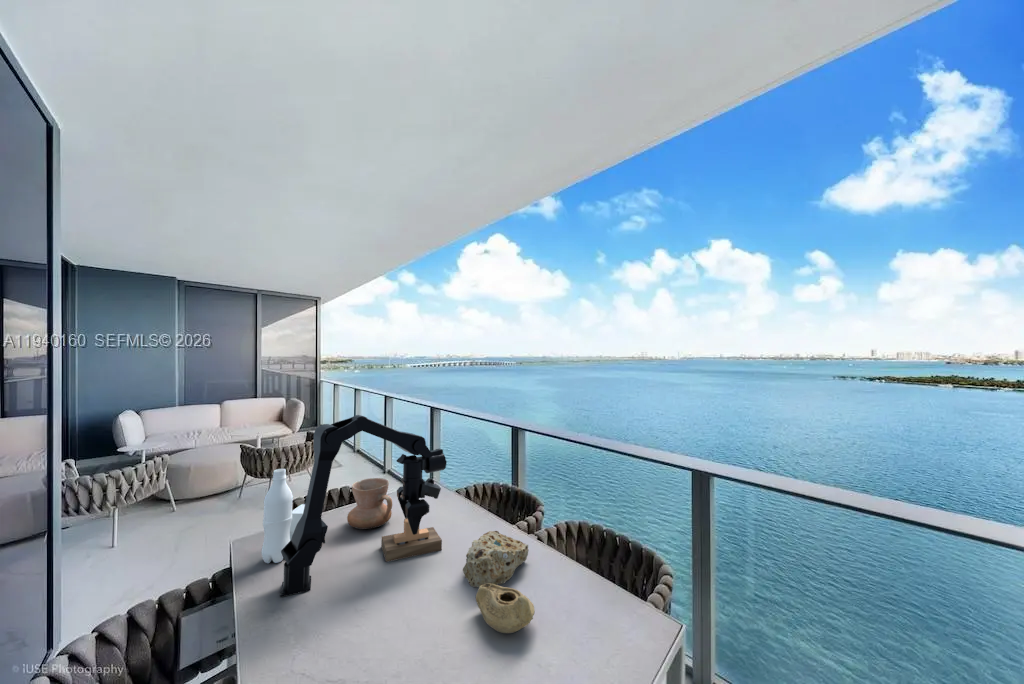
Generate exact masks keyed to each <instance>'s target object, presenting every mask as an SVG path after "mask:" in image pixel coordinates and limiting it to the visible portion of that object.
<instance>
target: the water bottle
mask: <svg viewBox="0 0 1024 684" xmlns="http://www.w3.org/2000/svg"><path fill="white" fill-rule="evenodd" d="M286 472H287V471H286V468H276V469H274V470H273V476H272V478H271V479H272V484H271V485H270V487H269V489H268V491H267V493H266V494H265V497H264V499H263V519H262V527H263V531H264V532H263V535H264V537H263V544H262V546H261V558H262V560H263V562H264V563H265V564H270V563H271V562H273V563H274V564H278V563H281V562H282V561H283V560H284V558H283V556H282V554H281V550H282V549H283V548H284V547H285V546H286V545H287V544H288V543H289V542H290V525H291V521H292V510H293V498H294V497H293V492H292V490H291V488H290V486H289V484H288V483H287V480H286V479H287V478H288V477H287V474H286Z"/></svg>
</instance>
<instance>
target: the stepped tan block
mask: <svg viewBox="0 0 1024 684" xmlns="http://www.w3.org/2000/svg"><path fill="white" fill-rule="evenodd" d="M427 528H428V527H426V528H425V527H424V528H420V527H419V528H418V531H417V534H415V535H413V533H412V530H411V528H410V525H409V522H408V519H405V518H404V520H403V532H398V533H393V534H394V542H395V544H396V543H398V545H401V544H405V542H406V541H411V540H417V539H418V541H421V540H425V538H427V537H429V531H428V530H427Z"/></svg>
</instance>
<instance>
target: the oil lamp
mask: <svg viewBox="0 0 1024 684" xmlns="http://www.w3.org/2000/svg"><path fill="white" fill-rule="evenodd" d="M475 602H476V604H477V607H478V608H479V610H480V613H481V616H482V617H483V620H484V622H485V623H486V624H487V625H488V626H489V627H491V628H492V629H493V630H494V631H497V632H498V633H499V634H500V633H501V634H512V633H516V632H518V631H519V630H522V629H523V628H525V627H526V626H528V625H529V624H530V623H531V622H532V620H533V619H534V615H535V611H536V610H535V605H534V603H533V602H532V601H531V600H530V599H529V598H528V597H527V596H526V595H524V594H523V593H522V592H521V591H520V590H518V589H516V588H512V587H506V586H505V587H504V586H501V585H499V584H498V585H495V584H491V583H488V584H483V585H481V586H480V587H478V590H477V592H476V595H475Z"/></svg>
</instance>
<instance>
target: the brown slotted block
mask: <svg viewBox="0 0 1024 684" xmlns="http://www.w3.org/2000/svg"><path fill="white" fill-rule="evenodd" d="M426 528H427V530H428V531H429V537H427V538H425V540H421V541H418V539H417V540H411V541H406V542H405V544H401V545H398V543H396V544H395V542H394V534H395V533H393V534H388V535H382V536H381V544H380V545H381V550H382V553H383V556H384V559H385V562H386V563H388V562H393V561H397V560H402V559H407V558H411V557H416V556H421V555H424V554H425V555H426V554H430V553H435V552H440V551H442V550H443V549H442V547H443V543H442V542H443V540H442V538H441V536H440V535H439V534H438V532H437V530H436V529H435V527H434V526H430V527H426Z"/></svg>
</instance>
